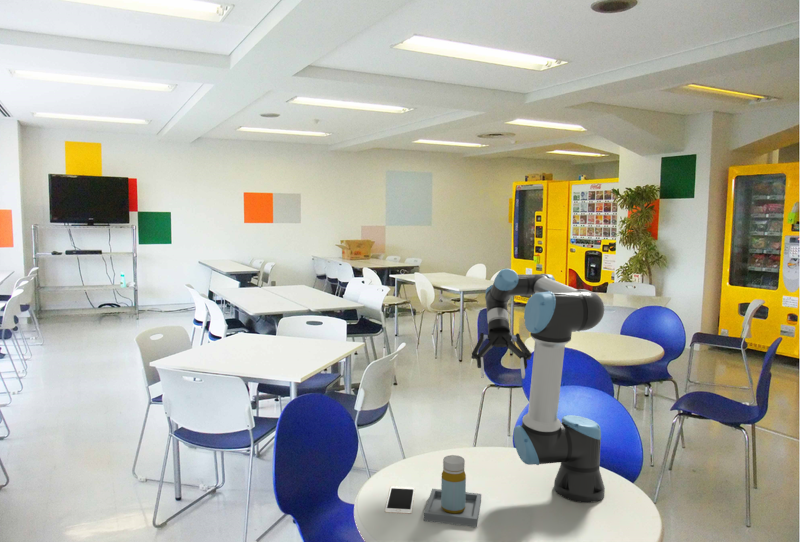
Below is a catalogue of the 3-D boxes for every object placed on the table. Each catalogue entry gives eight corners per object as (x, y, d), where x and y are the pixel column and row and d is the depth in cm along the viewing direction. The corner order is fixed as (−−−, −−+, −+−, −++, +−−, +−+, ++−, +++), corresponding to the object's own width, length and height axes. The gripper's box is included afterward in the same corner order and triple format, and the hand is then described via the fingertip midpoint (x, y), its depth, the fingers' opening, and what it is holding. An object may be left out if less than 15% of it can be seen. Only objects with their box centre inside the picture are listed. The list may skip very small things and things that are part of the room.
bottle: (466, 515, 167) (467, 464, 165) (441, 514, 167) (442, 464, 165) (464, 503, 174) (464, 454, 172) (440, 502, 174) (441, 454, 172)
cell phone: (384, 513, 169) (384, 511, 169) (390, 487, 185) (390, 486, 185) (411, 515, 169) (411, 513, 169) (415, 489, 185) (415, 487, 184)
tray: (481, 501, 176) (481, 493, 176) (476, 527, 161) (477, 519, 161) (432, 496, 179) (432, 488, 179) (423, 520, 165) (423, 512, 164)
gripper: (531, 329, 210) (539, 382, 197) (462, 329, 211) (465, 381, 198) (535, 318, 205) (542, 371, 191) (463, 317, 205) (466, 370, 192)
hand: (503, 376), depth 194 cm, fingers open, 13 cm apart
